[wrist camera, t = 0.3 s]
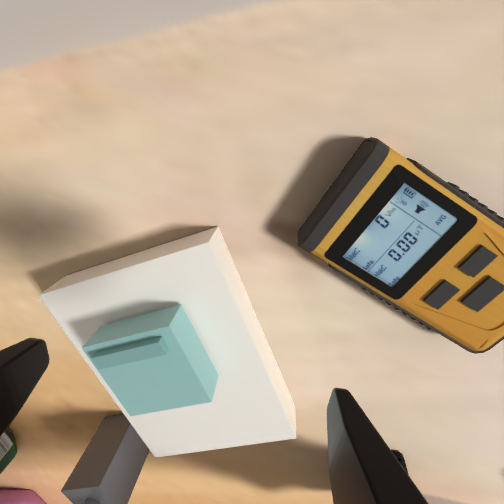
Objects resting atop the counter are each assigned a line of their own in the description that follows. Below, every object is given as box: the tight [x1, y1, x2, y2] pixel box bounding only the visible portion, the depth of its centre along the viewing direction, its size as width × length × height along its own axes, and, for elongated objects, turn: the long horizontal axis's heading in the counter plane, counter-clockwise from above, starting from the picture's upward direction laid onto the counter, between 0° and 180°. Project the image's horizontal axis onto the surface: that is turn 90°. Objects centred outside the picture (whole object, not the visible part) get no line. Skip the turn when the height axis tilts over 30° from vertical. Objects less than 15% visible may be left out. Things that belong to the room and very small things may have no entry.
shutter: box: [82, 304, 219, 416], centre depth 22 cm, size 7×7×3 cm
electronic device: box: [298, 137, 504, 353], centre depth 20 cm, size 8×16×3 cm, turn 59°
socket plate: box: [38, 227, 296, 458], centre depth 26 cm, size 19×14×3 cm
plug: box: [61, 414, 149, 504], centre depth 29 cm, size 4×4×9 cm
